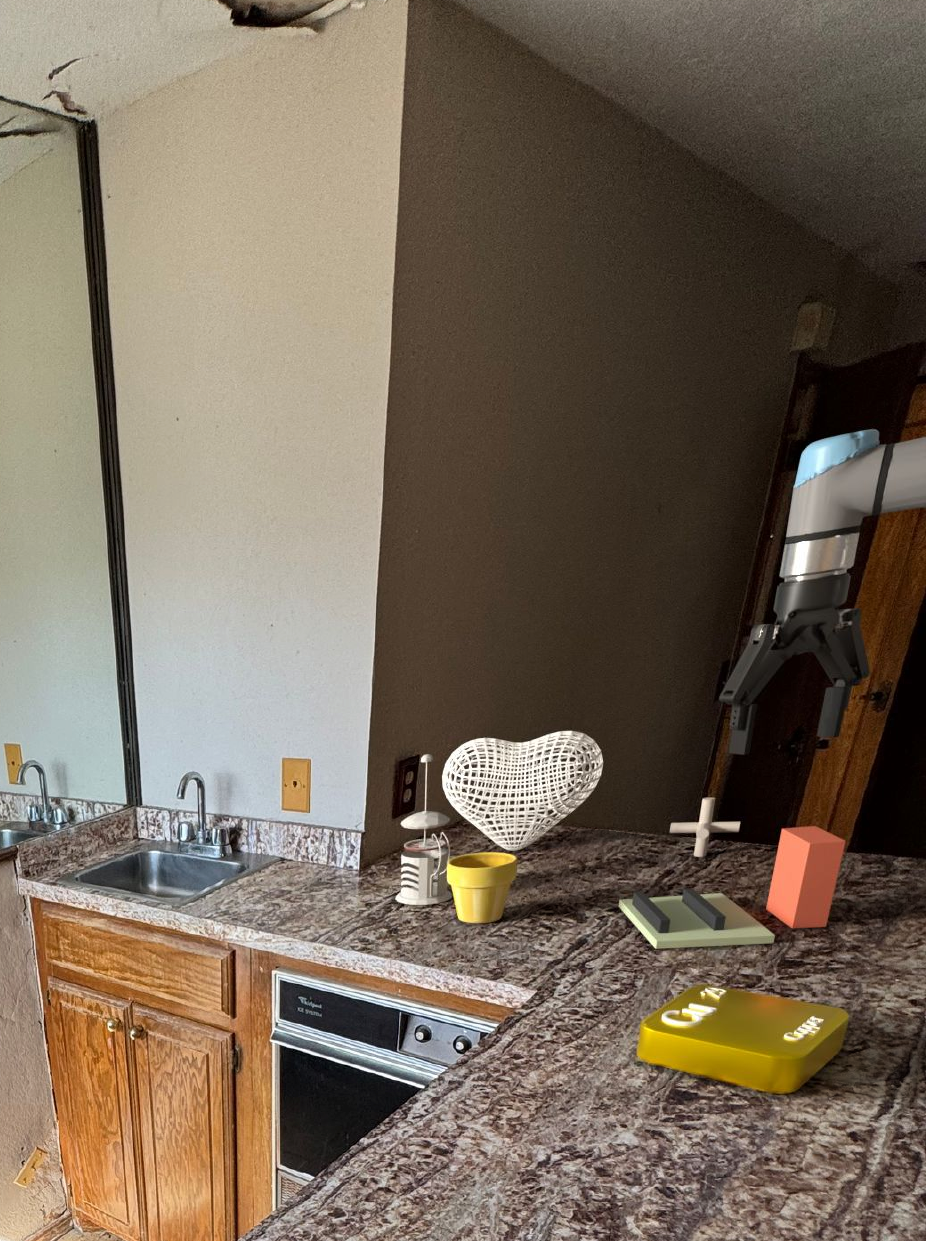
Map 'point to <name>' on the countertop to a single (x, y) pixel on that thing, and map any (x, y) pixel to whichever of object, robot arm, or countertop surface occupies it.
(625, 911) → the base pad
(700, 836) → the pipe connector
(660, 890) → the countertop surface
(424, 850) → the french press
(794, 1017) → the element tile
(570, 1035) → the countertop surface
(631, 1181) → the countertop surface
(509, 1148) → the countertop surface
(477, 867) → the flower pot
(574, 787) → the heart
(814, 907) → the salmon orange rectangular block
